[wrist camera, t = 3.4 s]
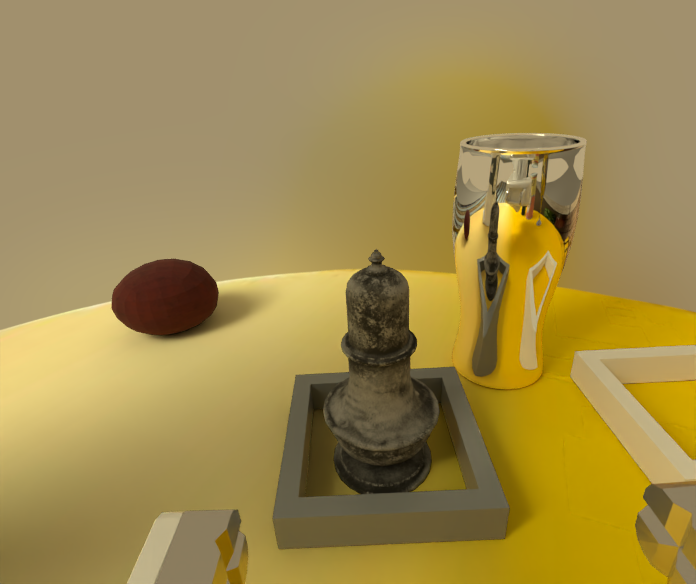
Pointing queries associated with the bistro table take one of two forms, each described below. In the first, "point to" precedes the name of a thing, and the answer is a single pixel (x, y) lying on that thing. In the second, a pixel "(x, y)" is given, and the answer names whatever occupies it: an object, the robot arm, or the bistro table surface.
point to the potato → (165, 297)
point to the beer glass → (511, 249)
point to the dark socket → (388, 508)
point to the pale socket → (627, 413)
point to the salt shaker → (380, 390)
